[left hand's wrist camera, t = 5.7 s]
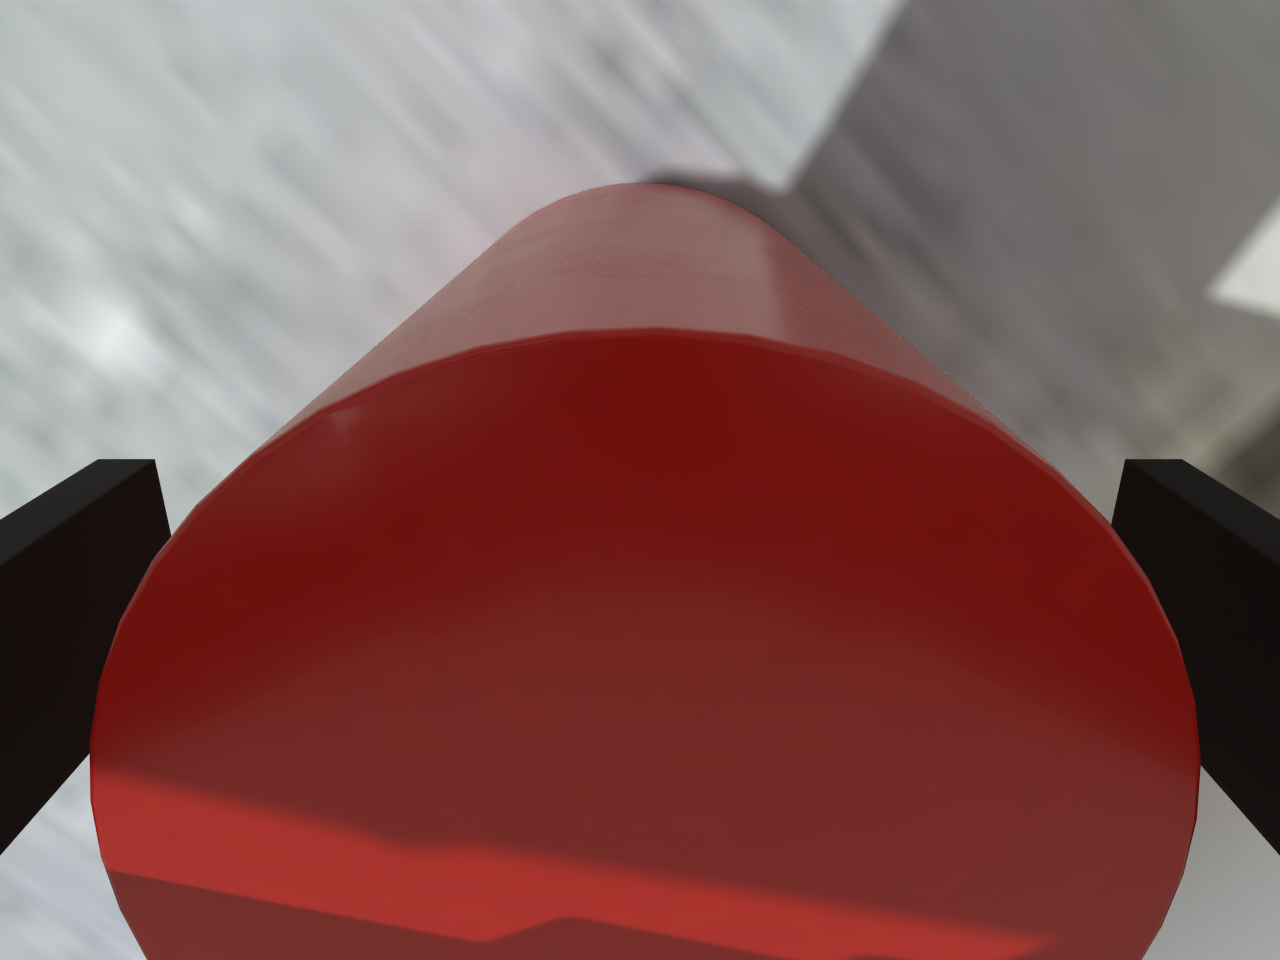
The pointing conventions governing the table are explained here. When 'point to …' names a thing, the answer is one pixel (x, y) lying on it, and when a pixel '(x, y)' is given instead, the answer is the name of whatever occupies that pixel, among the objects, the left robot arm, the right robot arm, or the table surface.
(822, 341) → the tin
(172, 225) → the table surface
